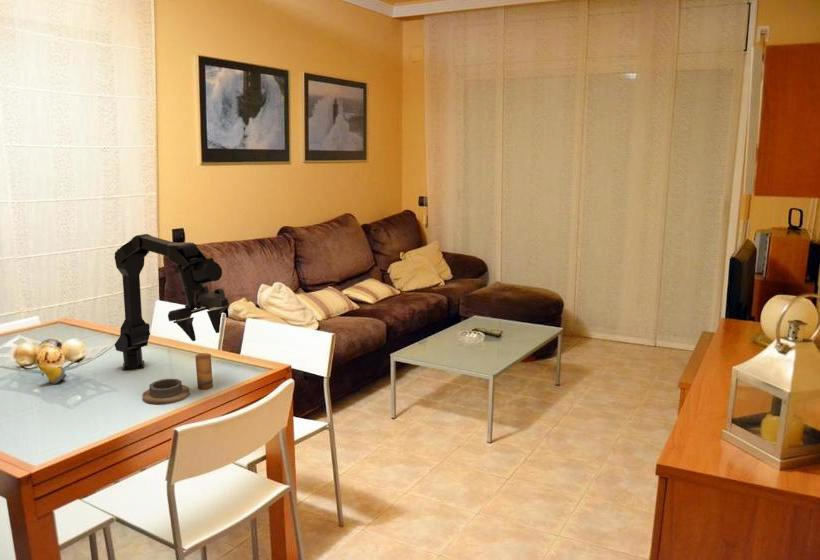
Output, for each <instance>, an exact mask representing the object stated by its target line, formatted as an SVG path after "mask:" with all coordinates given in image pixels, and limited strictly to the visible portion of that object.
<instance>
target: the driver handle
mask: <svg viewBox="0 0 820 560" xmlns="http://www.w3.org/2000/svg"><path fill="white" fill-rule="evenodd" d="M194 358H195V368H196V370H195V371H196V383H197V389H198V390H200V391H208V390H211V389H212V388H213V387H214V384H213V383H214V379H213V367H212V354H211V353H208V352H202V353H197V354H196V355H195V357H194Z"/></svg>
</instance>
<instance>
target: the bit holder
mask: <svg viewBox="0 0 820 560" xmlns="http://www.w3.org/2000/svg"><path fill="white" fill-rule="evenodd" d="M148 385H149V386H148V388H149V389H147V390H145V391H144V392H143V393H142V395H141V396H142V397H141V398H142V401H143V402H144V403H146V404H150V405H167V404H168V405H169V404H170V405H171V404H175V403H178V402H180V401H183V400H185V399H187V398H189V396H190V395H191V389H190V387H189V386H188V385H184V384H183V382H182V380H181V379H178V378H163V379H158V380H156V381H153V382H152V383H150V384H148Z"/></svg>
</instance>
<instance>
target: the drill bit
mask: <svg viewBox="0 0 820 560" xmlns="http://www.w3.org/2000/svg"><path fill="white" fill-rule="evenodd" d="M37 365H38V367H39V369H40V370H41V371H42V372H43V373H44V375H45V376H46V377H47V378H48V379H47V380H48V382H49V383H51V384H53V385H56V384H57V383H59V382H60V381H65V380H66V377H67V375H68V374H66V371H65V368H64V367H62V366H49V365H42V364H41V365H39V364H37Z"/></svg>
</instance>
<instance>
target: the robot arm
mask: <svg viewBox="0 0 820 560" xmlns="http://www.w3.org/2000/svg"><path fill="white" fill-rule="evenodd" d="M150 252H151V253H154V254H158V255H161V256H164V257H167V259H168V261H169V262H171V263H173V264H175V265H177V267H176V268H175V270H174V274H179V276H180V280H181V284H182V288H183V291H181V295H182V296H185V299H186V300H185V301H186V304H185V305H184V307H183V308H177V309H173V310H170V311H168V314H167V317H168V321H169V322H172V323H173V324H176V325H178V327H179V328H180V329H182V331H183V332H184V333H185V334H186V335H187V337H188V338H189V339H190V340H191V341H192V342H196V341H197V338H196V332H195V330H194V329H195V328H194V325H193V321H194V318H195V317H194V316H193V317H192V315H193V314H197V313H199V312H203V311H206V310H207V311H206V312H207V316H208V317H209V320H210V322H211V325H212V327H213V330H214V331H215V333H216V334H219V333H220V330H221V320H222V314H223V312H224V311H225V310H227V306H230V304H229V299H228V298H227V297H226V296H225V295H226V293H225V291H224V289H223V288H221V287H220V288H216V289H215V290H214V291H213V290H212V291H209V288H208V285H206V286H204V284H208V283H214V282H218V281H219V280H221V277H222V275H223V270H222V266H220V264H219V263H218V262H217V261H215V260H214V258H213V257H210V258H207V257H206V256H205V255H204V253H203V252H202V251H201V250H200V248H199V247H198V245H197V244H196V243H194V242H184V241H182V242H174V241H171V240H168V239H167V240H166V239H163V238H159V237H157V236H152V235H151V234H148V233H143V234H138V235H135V236H133V237H132V238H131V239H130V240H129V241H128V242H126V243H125V244H123V245H122V246H120V248H118V249H117V250H116V251H115V252H114V261H115V266H116V269H117V270H118V272H119V273H120V274H121V275H122V287H123V288H122V289H123V303H124V304H123V305H124V306H123V307H124V321H123V322H122V324H121V326H120V334H119V337H118V339H117V340H116V341H115V343H114V348H115V350H116V351H117V352H120V353H122V355H123V357H122V358H123V363H122V371H127V370H134V369H135V370H137V369H144V368H145V360H143V352H142V351H143V350H142V348H144V347H147V346H148V343H149V338H150V336H151V331H150V324H149V323H148V322H147V323H146V321H145V320H144V318H143V315H142V313H143V312H142V311H143V310H142V297H141V280H140V277H141V276H140V274H141V273H142V270H143V268H144V267H145V260H146V259H145V258H146V256H147V255H148V254H149V253H150Z"/></svg>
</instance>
